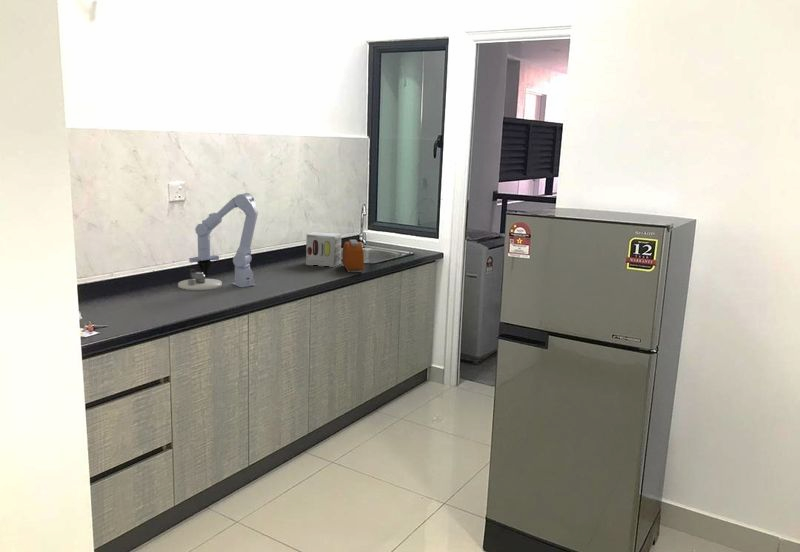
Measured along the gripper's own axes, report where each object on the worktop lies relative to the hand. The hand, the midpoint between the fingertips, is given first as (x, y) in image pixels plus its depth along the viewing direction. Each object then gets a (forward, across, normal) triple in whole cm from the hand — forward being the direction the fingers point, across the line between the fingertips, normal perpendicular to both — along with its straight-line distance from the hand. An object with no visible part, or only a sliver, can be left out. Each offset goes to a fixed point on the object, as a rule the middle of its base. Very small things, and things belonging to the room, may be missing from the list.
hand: (204, 275), depth 316 cm
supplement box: (+4, -77, -8) cm, 78 cm away
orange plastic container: (+4, -83, +12) cm, 84 cm away
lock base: (+3, +5, +6) cm, 8 cm away
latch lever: (+2, +5, +2) cm, 6 cm away
